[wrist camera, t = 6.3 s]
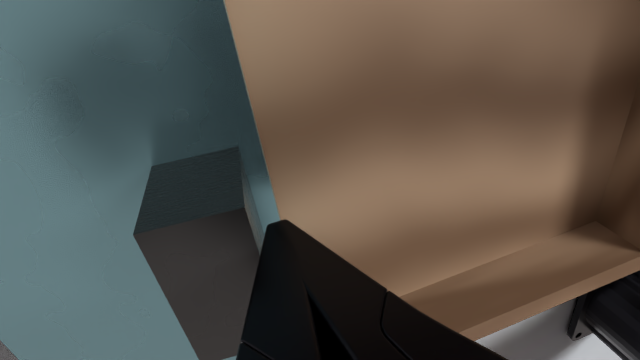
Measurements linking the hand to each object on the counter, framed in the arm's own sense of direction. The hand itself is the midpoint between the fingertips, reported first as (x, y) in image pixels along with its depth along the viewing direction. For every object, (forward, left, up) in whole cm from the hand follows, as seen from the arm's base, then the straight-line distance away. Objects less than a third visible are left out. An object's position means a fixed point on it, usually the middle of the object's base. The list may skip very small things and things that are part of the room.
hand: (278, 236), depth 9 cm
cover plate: (0, +4, -3) cm, 5 cm away
